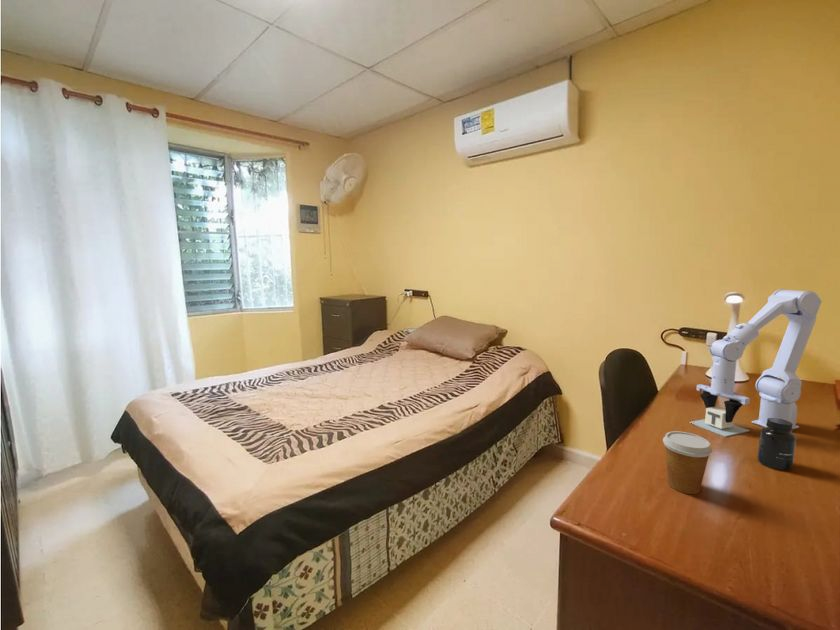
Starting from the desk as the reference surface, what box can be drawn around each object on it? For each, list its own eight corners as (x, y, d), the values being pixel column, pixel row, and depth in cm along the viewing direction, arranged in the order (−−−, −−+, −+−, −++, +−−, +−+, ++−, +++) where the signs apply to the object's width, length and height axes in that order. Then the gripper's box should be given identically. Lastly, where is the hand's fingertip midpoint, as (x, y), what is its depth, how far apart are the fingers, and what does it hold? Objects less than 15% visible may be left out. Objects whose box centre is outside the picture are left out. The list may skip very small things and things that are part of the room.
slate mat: (712, 418, 128) (712, 417, 128) (749, 431, 118) (749, 430, 118) (689, 422, 125) (689, 422, 125) (725, 437, 114) (725, 436, 114)
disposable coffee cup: (710, 503, 83) (715, 453, 82) (660, 490, 88) (663, 442, 87) (705, 482, 91) (710, 435, 90) (659, 471, 96) (662, 427, 95)
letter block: (715, 420, 124) (716, 406, 123) (732, 426, 119) (733, 411, 119) (704, 422, 122) (705, 408, 122) (720, 429, 118) (722, 413, 117)
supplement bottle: (785, 474, 94) (791, 428, 92) (752, 461, 100) (756, 419, 98) (797, 467, 97) (802, 423, 96) (764, 455, 103) (768, 413, 102)
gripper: (691, 373, 125) (688, 412, 126) (740, 386, 111) (735, 429, 113) (706, 370, 127) (702, 409, 129) (755, 383, 113) (751, 425, 115)
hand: (719, 418), depth 121 cm, fingers closed on letter block, 5 cm apart
